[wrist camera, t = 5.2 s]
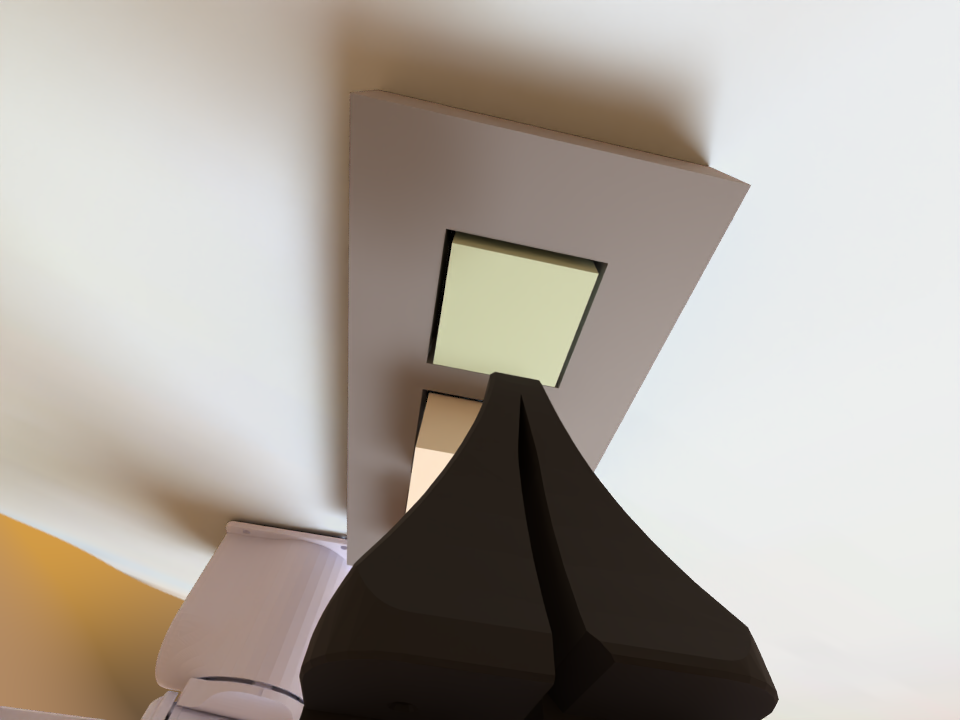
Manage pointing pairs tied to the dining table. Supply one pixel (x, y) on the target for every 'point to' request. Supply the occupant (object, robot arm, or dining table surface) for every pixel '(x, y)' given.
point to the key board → (517, 219)
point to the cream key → (439, 439)
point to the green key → (511, 308)
